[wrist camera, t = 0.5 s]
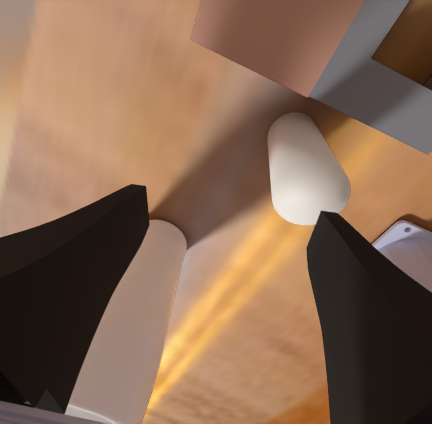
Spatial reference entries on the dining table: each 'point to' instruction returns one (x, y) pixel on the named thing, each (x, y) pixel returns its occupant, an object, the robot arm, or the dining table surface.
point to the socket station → (323, 57)
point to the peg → (304, 171)
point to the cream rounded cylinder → (131, 333)
